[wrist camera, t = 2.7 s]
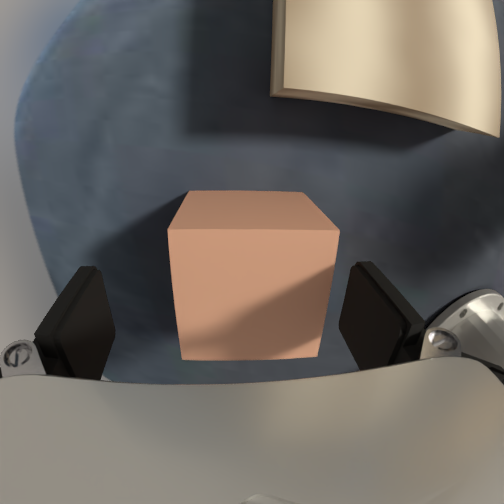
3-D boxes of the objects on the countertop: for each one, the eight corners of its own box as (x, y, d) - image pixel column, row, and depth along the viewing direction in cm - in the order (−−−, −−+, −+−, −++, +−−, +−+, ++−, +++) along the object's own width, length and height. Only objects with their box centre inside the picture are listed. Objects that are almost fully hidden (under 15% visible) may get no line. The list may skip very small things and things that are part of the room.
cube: (302, 192, 16) (339, 230, 10) (293, 289, 18) (316, 356, 13) (189, 190, 16) (167, 229, 10) (193, 289, 18) (182, 359, 12)
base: (447, -24, 10) (482, -38, 6) (455, 129, 15) (499, 137, 11) (274, -76, 9) (285, -112, 5) (269, 96, 14) (283, 87, 10)
